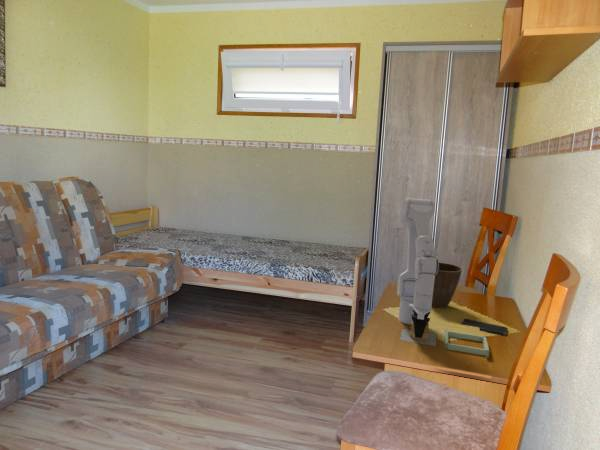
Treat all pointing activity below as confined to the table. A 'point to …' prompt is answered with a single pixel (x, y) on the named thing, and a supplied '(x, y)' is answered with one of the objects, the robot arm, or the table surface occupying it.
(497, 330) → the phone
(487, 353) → the sage tray
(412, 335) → the wood ring
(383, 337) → the table surface
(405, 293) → the robot arm
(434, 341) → the stake board
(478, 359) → the table surface
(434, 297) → the plant pot
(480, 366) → the table surface
